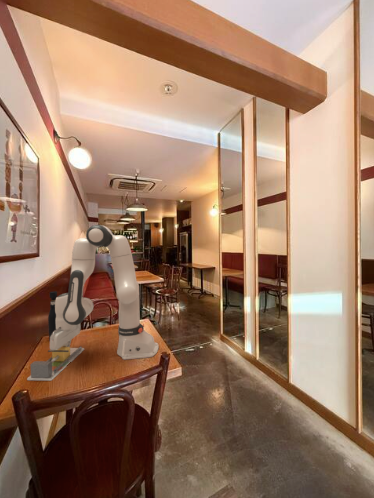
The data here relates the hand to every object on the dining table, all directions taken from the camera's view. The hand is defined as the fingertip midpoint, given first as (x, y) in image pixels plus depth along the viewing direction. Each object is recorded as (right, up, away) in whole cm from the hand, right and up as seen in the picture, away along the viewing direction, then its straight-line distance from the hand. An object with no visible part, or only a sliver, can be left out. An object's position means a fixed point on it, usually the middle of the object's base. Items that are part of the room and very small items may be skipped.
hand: (66, 349), depth 110 cm
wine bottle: (-19, -4, +20) cm, 28 cm away
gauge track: (0, -4, -6) cm, 7 cm away
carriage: (0, -3, -6) cm, 7 cm away
